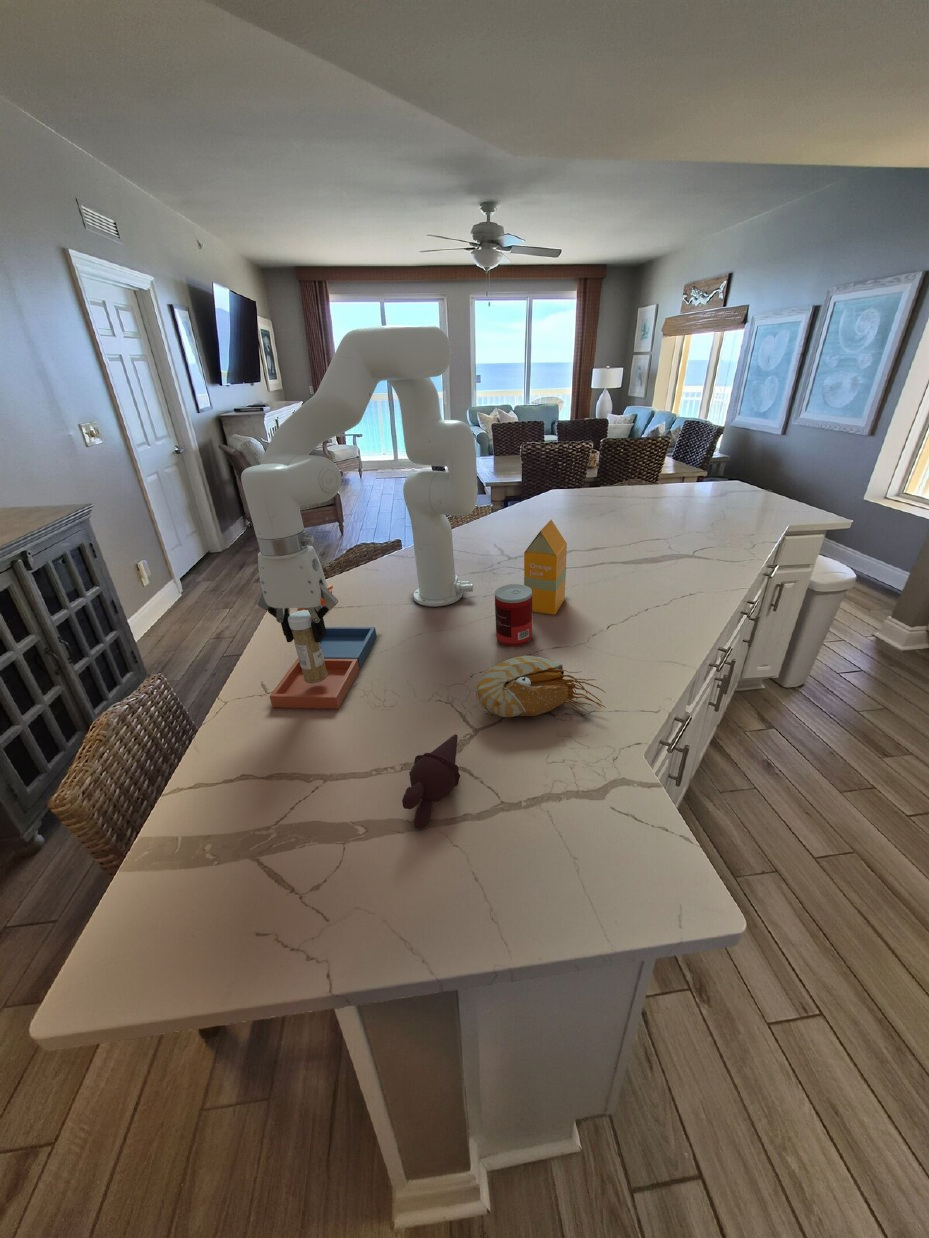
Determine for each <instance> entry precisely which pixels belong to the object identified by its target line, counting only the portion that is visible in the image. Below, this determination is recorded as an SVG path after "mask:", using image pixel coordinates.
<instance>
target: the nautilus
mask: <svg viewBox="0 0 929 1238" xmlns="http://www.w3.org/2000/svg"><path fill="white" fill-rule="evenodd" d="M563 666H564V665H563V663H560V662H557V661H553V660H550V659H547V658H544V657H541V656H535V655H522V656H521V655H520V656H514V657H512V658H509V659H506V660H503V661H502V662H499V663H496V664H495V665H493V666H492V667H490V669H489V670H487V671H486V672H484V674H483V675H482V676H481V677H480V679H479V680H478V681H477V684H476V686H475V689H476V690H475V691H476V697H477V699H478V701H479V703H480V706H482V708H483V709H485V710H486V711H488V712H490V713H492V714H494V715H496V716H499V717H502V718H514V717H536V716H539V715H542V714H545V713H549V712H550V711H552V710H554V709H556V708H558V707H559V706H561V705H562V704H569V705H571V706H572V707H573V708H575V709H576V710H577V711H578V712H580V713H581V714H582V715H583V716H584V717H585V718H587V716H586V714H584V712H583V711H582V710H580V709H579V708H581V709H583V710H584V711H586V712H588V710H587V708H584V707H583V706H581V705H588V706H591V707H592V706H594V705H593V704H591V703H587V702H579V701H578V700H579V699H581V698H582V699H585V700H588V701H589V702H592V703H594V704H595V705H596V704H597V706H599V708H602V707H603V708H605V709H606V706H605V705H603V702H602V701H601V699H600V698H598V697H597V696H595V694H593V693H591V692H590V691H589V690H587V689H586V688H585V687H584V685H583V684H585V685H588V686H591V687H594V688H596V689H599V691H601V692H603V693H604V694H606V692H607V691H605V690H604V689H602V688H600V687H599V686H596V685H594V684H592V683H589V682H587V681H596V679H595V678H591V679H590V678H589V679H586V678H576V677H575V676H573V675H571V674H565V672H566V673H574V674H577V673H578V674H579V671H568V670H566V669H564V667H563ZM580 673H583V671H582V670H581V671H580ZM568 678H570V679H568ZM577 690H579V691H580V690H582V691H585V694H584V693H580V692H577ZM588 694H589V695H590V696H592V697H594V698H595V699H596V700H597V701H595V700H594V699H592V698H590V697H589V696H587V695H588ZM573 699H576V700H573ZM598 701H599V702H598ZM578 707H579V708H578Z"/></svg>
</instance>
